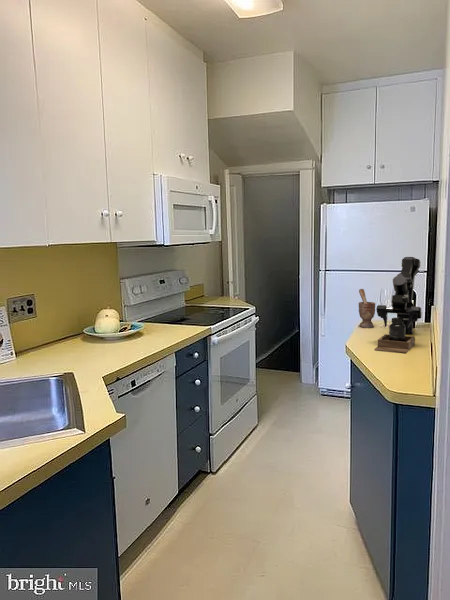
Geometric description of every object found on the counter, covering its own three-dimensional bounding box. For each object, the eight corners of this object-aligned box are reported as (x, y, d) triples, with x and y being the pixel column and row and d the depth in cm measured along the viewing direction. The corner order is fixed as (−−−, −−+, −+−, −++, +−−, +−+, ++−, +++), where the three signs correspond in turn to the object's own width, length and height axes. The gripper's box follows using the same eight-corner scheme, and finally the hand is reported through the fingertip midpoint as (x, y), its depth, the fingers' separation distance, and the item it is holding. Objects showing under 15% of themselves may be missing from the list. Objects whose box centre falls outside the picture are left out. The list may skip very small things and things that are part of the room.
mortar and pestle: (350, 325, 262) (351, 289, 259) (362, 323, 266) (362, 288, 264) (367, 328, 252) (367, 291, 250) (378, 326, 257) (379, 289, 254)
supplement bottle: (408, 345, 211) (409, 318, 209) (394, 347, 209) (395, 320, 208) (399, 342, 218) (399, 316, 216) (385, 343, 216) (386, 317, 214)
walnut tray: (385, 341, 222) (385, 334, 222) (414, 344, 216) (414, 336, 215) (374, 350, 207) (374, 342, 207) (405, 353, 200) (406, 345, 200)
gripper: (377, 287, 218) (372, 315, 210) (421, 288, 209) (417, 317, 201) (380, 302, 226) (375, 329, 218) (423, 303, 217) (419, 332, 209)
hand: (396, 327), depth 212 cm, fingers open, 9 cm apart
